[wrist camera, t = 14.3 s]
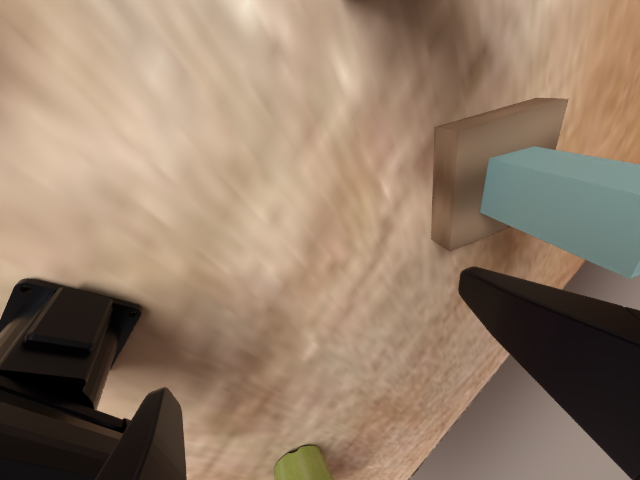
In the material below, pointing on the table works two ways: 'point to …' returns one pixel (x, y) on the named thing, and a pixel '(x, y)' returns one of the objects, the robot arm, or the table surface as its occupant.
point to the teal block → (570, 203)
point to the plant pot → (303, 465)
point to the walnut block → (483, 163)
